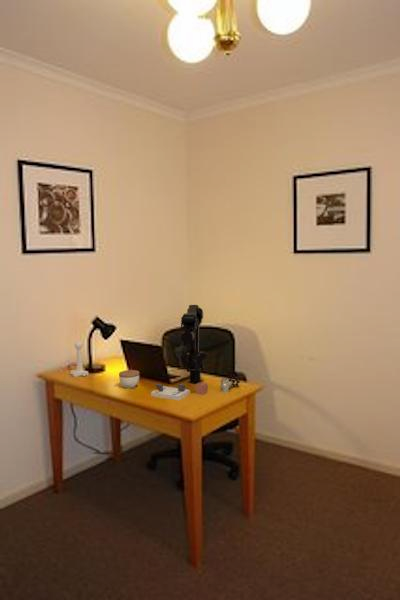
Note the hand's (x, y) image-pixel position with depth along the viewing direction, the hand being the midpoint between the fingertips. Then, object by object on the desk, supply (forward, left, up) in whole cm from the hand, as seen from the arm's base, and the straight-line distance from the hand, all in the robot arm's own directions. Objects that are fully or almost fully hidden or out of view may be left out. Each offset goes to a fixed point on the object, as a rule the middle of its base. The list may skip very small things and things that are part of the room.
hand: (190, 369), depth 234 cm
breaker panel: (+7, -8, -12) cm, 16 cm away
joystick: (-2, -76, -12) cm, 77 cm away
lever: (+5, -3, -10) cm, 11 cm away
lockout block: (-2, +5, -12) cm, 13 cm away
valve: (-12, +15, -12) cm, 23 cm away
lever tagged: (+9, -13, -10) cm, 19 cm away
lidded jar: (+4, -35, -12) cm, 37 cm away
